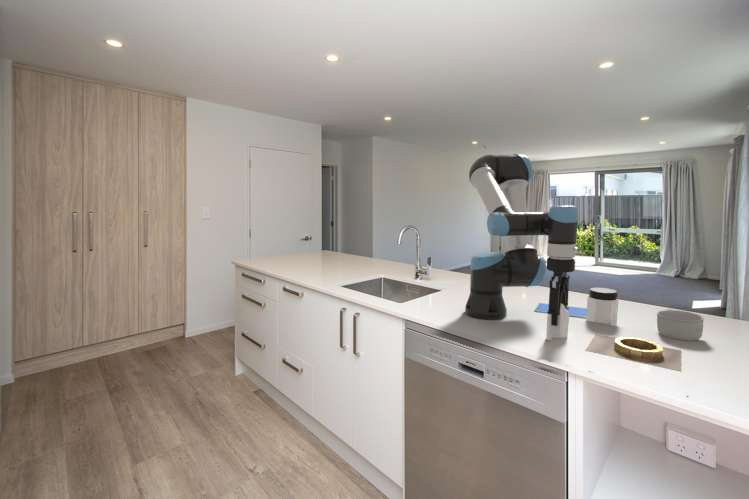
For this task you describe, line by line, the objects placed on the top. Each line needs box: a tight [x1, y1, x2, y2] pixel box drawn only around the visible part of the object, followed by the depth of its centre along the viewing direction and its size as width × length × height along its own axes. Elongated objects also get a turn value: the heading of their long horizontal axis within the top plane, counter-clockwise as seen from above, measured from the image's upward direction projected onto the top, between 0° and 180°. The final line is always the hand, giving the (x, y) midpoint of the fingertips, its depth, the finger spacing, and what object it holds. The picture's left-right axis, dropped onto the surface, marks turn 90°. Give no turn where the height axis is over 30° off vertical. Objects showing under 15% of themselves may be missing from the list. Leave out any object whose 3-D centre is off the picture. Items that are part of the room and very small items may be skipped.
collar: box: [614, 336, 664, 360], centre depth 97 cm, size 10×10×2 cm
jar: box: [585, 287, 619, 327], centre depth 123 cm, size 9×8×12 cm
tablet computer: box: [533, 302, 587, 319], centre depth 140 cm, size 19×13×1 cm, turn 58°
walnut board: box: [585, 333, 682, 372], centre depth 98 cm, size 20×16×2 cm
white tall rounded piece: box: [545, 304, 570, 342], centre depth 109 cm, size 6×12×6 cm
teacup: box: [656, 308, 705, 342], centre depth 110 cm, size 14×11×8 cm
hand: (557, 332), depth 110 cm, fingers closed on white tall rounded piece, 6 cm apart
